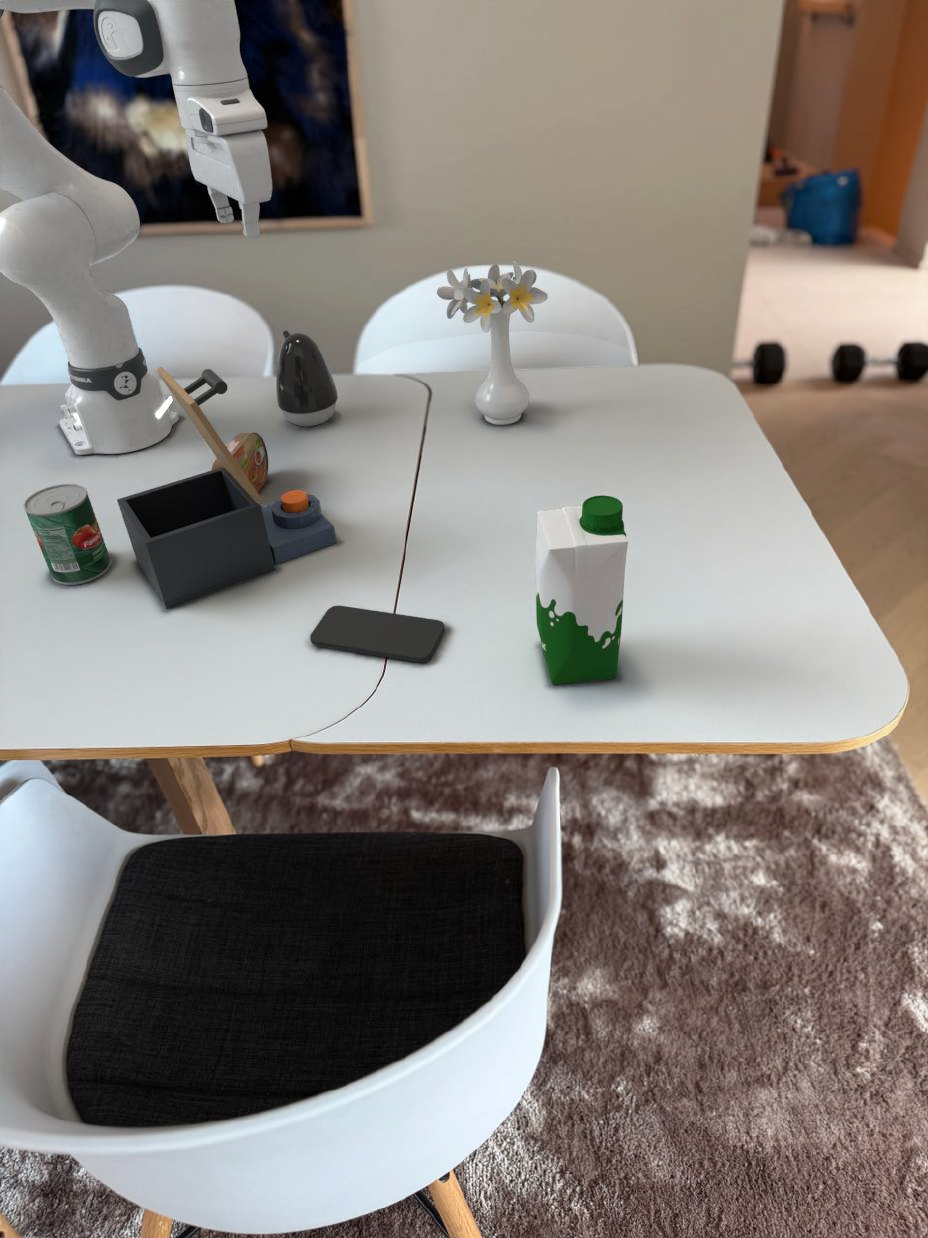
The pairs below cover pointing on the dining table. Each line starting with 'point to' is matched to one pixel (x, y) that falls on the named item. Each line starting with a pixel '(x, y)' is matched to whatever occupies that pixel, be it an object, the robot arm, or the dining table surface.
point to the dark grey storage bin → (197, 536)
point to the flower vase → (496, 333)
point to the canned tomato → (68, 533)
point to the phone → (378, 633)
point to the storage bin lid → (203, 423)
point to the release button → (294, 501)
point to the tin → (249, 457)
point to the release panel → (297, 530)
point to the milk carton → (581, 589)
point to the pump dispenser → (304, 382)
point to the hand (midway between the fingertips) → (238, 228)
